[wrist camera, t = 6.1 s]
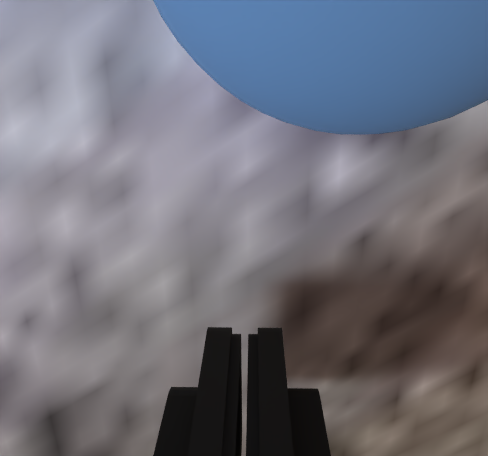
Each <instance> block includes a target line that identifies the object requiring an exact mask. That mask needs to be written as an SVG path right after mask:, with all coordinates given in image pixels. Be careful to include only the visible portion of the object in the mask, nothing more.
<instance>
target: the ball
mask: <svg viewBox="0 0 488 456" xmlns="http://www.w3.org/2000/svg"><path fill="white" fill-rule="evenodd" d="M153 1H154V3H155V5H156V7H157V9H158V11H159V13H160V15H161V17H162V18H163V20H164V21H165V23H166V24H167V26H168V27H169V29H170V30H171V32H172V33H173V35H174V36H175V38H176V39H177V41H178V42H179V43H180V44H181V46H182V47H183V48H184V49H185V50H186V51H187V53H188V54H189V55H190V56H191V57H192V58H193V60H194V61H195V62H196V63H197V64H198V65H199V66H200V67H201V68H202V69H203V70H204V71H205V72H206V73H207V74H208V75H209V76H210V77H211V78H213V79H214V80H215V81H216V82H217V83H218V84H219V85H220V86H221V87H223V88H224V89H225V90H227V91H228V92H230V93H231V94H232V95H234V96H235V97H236V98H238V99H239V100H241V101H242V102H244V103H246V104H248V105H249V106H251V107H253V108H255V109H257V110H258V111H260V112H262V113H264V114H267V115H269V116H271V117H274V118H276V119H279V120H281V121H283V122H286V123H290V124H293V125H297V126H300V127H304V128H308V129H311V130H315V131H321V132H328V133H335V134H382V133H389V132H396V131H403V130H408V129H412V128H416V127H419V126H423V125H427V124H430V123H434V122H437V121H440V120H444V119H447V118H450V117H453V116H455V115H457V114H459V113H461V112H463V111H466V110H468V109H470V108H472V107H474V106H476V105H478V104H480V103H483V102H485V101H487V100H488V0H153Z"/></svg>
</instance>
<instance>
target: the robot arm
mask: <svg viewBox="0 0 488 456" xmlns="http://www.w3.org/2000/svg"><path fill="white" fill-rule="evenodd" d="M241 449H242V376H241V334H232V328H217V327H208V329H207V335H206V341H205V347H204V353H203V359H202V366H201V372H200V378H199V384H198V387H171V389H170V391H169V394H168V397H167V402H166V406H165V410H164V414H163V418H162V422H161V426H160V431H159V435H158V439H157V443H156V447H155V451H154V455H153V456H241ZM246 456H331V455H330V449H329V444H328V438H327V433H326V427H325V422H324V416H323V411H322V405H321V400H320V395H319V391H318V389H297V388H287V378H286V368H285V357H284V347H283V336H282V328H258V334H249V335H248V385H247V435H246Z"/></svg>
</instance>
